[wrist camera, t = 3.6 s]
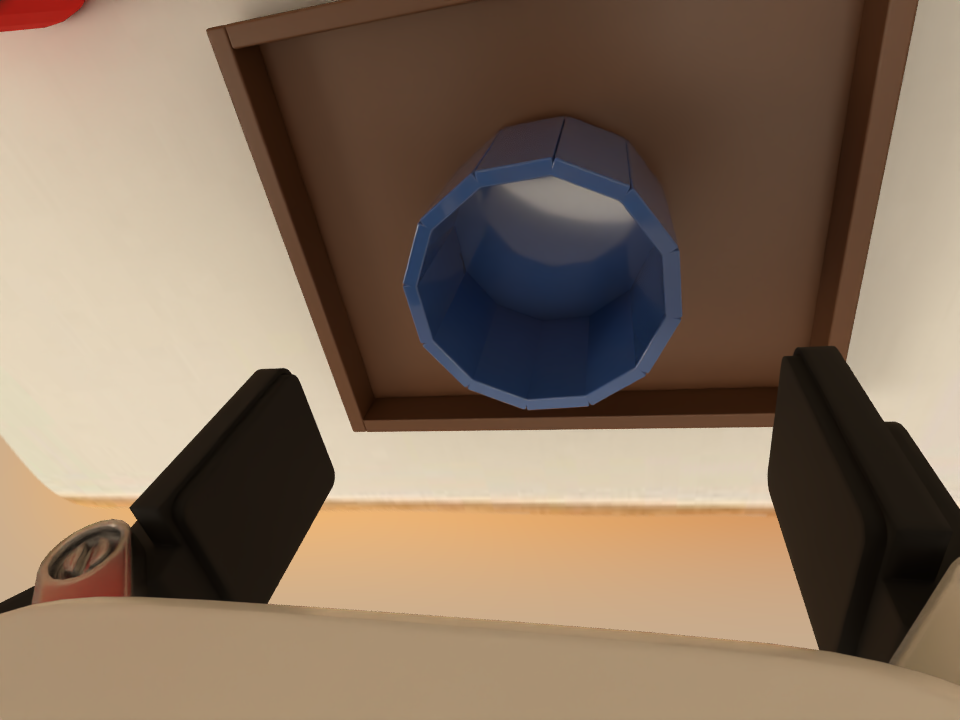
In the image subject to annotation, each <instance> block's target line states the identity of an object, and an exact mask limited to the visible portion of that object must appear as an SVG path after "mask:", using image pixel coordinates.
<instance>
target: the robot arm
mask: <svg viewBox="0 0 960 720" xmlns="http://www.w3.org/2000/svg"><path fill="white" fill-rule="evenodd" d="M334 480H335V472H334V468H333V466H332V463H331V460H330V458H329V455H328V453H327V450H326V448H325V445H324V443H323V440H322V437H321V435H320V432H319V430H318V427H317V425H316V422H315V419H314V417H313V414H312V412H311V409H310V407H309V404H308V402H307V399H306V396H305V394H304V391H303V389H302V386H301V384H300V381H299V379H298V378H297V377H296V376H295V375H292V374H291V372H290V371H289V370H288V369H285V368H278V369H260V370H257V371H256V372H255V373H254V374H253V375H252V376H251V377H250V378H249V379H248V380H247V381H246V383H245V384H244V385H243V386H242V387H241V388H240V389H239V390H238V391H237V392H236V393H235V394H234V395H233V397H232V398H231V399H230V400H229V401H228V402H227V403H226V404H225V405H224V406H223V407H222V408H221V409H220V411H219V412H218V413H217V414H216V415H215V416H214V417H213V418H212V419H211V420H210V421H209V422H208V424H207V425H206V426H205V427H204V428H203V429H202V430H201V431H200V432H199V433H198V434H197V435H196V436H195V438H194V439H193V440H192V441H191V442H190V443H189V444H188V445H187V446H186V447H185V448H184V449H183V450H182V452H181V453H180V454H179V455H178V456H177V457H176V458H175V459H174V460H173V461H172V462H171V463H170V464H169V466H168V467H167V468H166V469H165V470H164V471H163V472H162V473H161V474H160V475H159V476H158V477H157V479H156V480H155V481H154V482H153V483H152V484H151V485H150V486H149V487H148V488H147V489H146V490H145V491H144V493H143V494H142V495H141V496H140V497H139V498H138V499H137V500H136V501H135V502H134V503H133V504H132V505H131V507H130V510H131V511H132V513H133V514H134V516H135V517H136V519H137V521H136V522H135V524H134V525H133V526H132V527H131V528H130V526H129V525H128V524H127V523H125V522H124V521H122V520H115V519H111V520H105V521H100V522H97V523H94V524H91V525H88V526H86V527H84V528H82V529H80V530H78V531H76V532H74V533H73V534H71V535H70V536H68V537H67V538H66V539H64V540H63V541H61V542H60V543H59V544H58V545H57V546H56V547H55V548H53V549H52V551H50V552H49V554H48V555H47V556H46V557H45V559H44V560H43V561H42V563H41V565H40V567H39V570H38V572H37V577H36V582H35V586H33V587H32V588H29V589H28V590H25V591H23V592H21V593H19V594H17V595H15V596H13V597H11V598H10V599H7V600H5V601H4V602H1V603H0V720H960V509H959V507H958V506H957V504H956V503H955V501H954V500H953V498H952V497H951V495H950V494H949V493H948V491H947V490H946V488H945V487H944V485H943V484H942V482H941V481H940V479H939V478H938V476H937V475H936V473H935V472H934V470H933V469H932V467H931V466H930V464H929V463H928V461H927V460H926V458H925V457H924V455H923V454H922V452H921V451H920V449H919V448H918V446H917V445H916V444H915V442H914V441H913V439H912V438H911V436H910V435H909V433H908V432H907V430H906V429H905V428H904V427H903V426H902V425H901V424H899V423H897V422H884V421H883V419H882V418H881V416H880V415H879V413H878V412H877V410H876V408H875V407H874V405H873V404H872V402H871V401H870V399H869V397H868V396H867V394H866V393H865V391H864V389H863V388H862V386H861V385H860V383H859V382H858V380H857V378H856V377H855V375H854V374H853V372H852V371H851V369H850V367H849V366H848V364H847V363H846V361H845V360H844V358H843V356H842V355H841V353H840V352H839V350H838V349H837V348H836V347H835V346H814V347H797V348H796V349H795V351H794V354H793V356H784V357H783V358H782V362H781V368H780V376H779V384H778V393H777V401H776V409H775V417H774V425H773V433H772V441H771V450H770V458H769V466H768V487H769V492H770V496H771V499H772V502H773V505H774V509H775V512H776V515H777V518H778V521H779V524H780V528H781V531H782V534H783V537H784V540H785V543H786V546H787V549H788V552H789V556H790V559H791V562H792V565H793V568H794V571H795V574H796V578H797V581H798V584H799V587H800V590H801V594H802V597H803V600H804V603H805V606H806V609H807V612H808V615H809V619H810V622H811V625H812V628H813V631H814V634H815V638H816V641H817V644H818V647H819V650H814V649H807V648H799V647H792V646H784V645H777V644H770V643H759V642H747V641H738V640H727V639H717V638H706V637H695V636H685V635H674V634H663V633H652V632H640V631H627V630H614V629H601V628H587V627H576V626H563V625H550V624H537V623H525V622H512V621H499V620H486V619H471V618H459V617H444V616H432V615H418V614H404V613H390V612H376V611H362V610H348V609H334V608H320V607H305V606H290V605H274V604H268V602H269V600H270V598H271V596H272V594H273V593H274V591H275V589H276V587H277V586H278V584H279V582H280V580H281V578H282V576H283V575H284V573H285V571H286V569H287V568H288V566H289V564H290V562H291V560H292V559H293V557H294V555H295V553H296V551H297V550H298V548H299V546H300V544H301V543H302V541H303V539H304V537H305V535H306V534H307V532H308V530H309V528H310V526H311V524H312V523H313V521H314V519H315V517H316V516H317V514H318V512H319V510H320V508H321V507H322V505H323V503H324V501H325V499H326V498H327V496H328V494H329V492H330V491H331V489H332V487H333V484H334Z"/></svg>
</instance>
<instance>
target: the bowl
mask: <svg viewBox="0 0 960 720" xmlns="http://www.w3.org/2000/svg"><path fill="white" fill-rule="evenodd" d="M403 284H404V285H403V289H404V292H405V296H406V299H407V302H408V305H409V308H410V311H411V314H412V318H413V321H414V324H415V327H416V330H417V333H418V336H419V339H420V342H421V343H423V347H424V348H425V349H426V350H427V351H428V352H429V353H430V354H431V355H432V356H433V357H434V358H435V359H436V360H437V361H438V362H439V363H440V364H441V365H442V366H443V367H444V368H446V369H447V370H448V371H449V372H450V373H451V374H452V375H453V376H454V377H455V378H456V379H457V380H458V381H459V382H460V383H461V384H462V385H463V386H464V387H467V386H468V389H469V390H471V391H474V392H477V393H480V394H482V395H485V396H488V397H491V398H493V399H496V400H499V401H502V402H504V403H507V404H510V405H513V406H516V407H518V408H521V409H526V407H527V410H539V409H555V408H571V407H587V406H589V405H590V404H591V405H594V404H596V403H598V402H599V401H601V400H603V399H605V398H607V397H608V396H610V395H612V394H614V393H616V392H617V391H619V390H621V389H623V388H625V387H627V386H628V385H630V384H632V383H634V382H636V381H637V380H639V379H641V378H643V377H645V376H646V373H649V372H650V370H651V369H652V367H653V366H654V364H655V362H656V361H657V359H658V357H659V356H660V354H661V353H662V351H663V349H664V348H665V346H666V344H667V343H668V341H669V340H670V338H671V336H672V335H673V333H674V331H675V330H676V328H677V327H678V325H679V323H680V322H681V317H682V315H683V314H682V290H681V267H680V250H679V246H678V242H677V239H676V235H675V231H674V227H673V223H672V220H671V216H670V212H669V208H668V204H667V201H666V197H665V193H664V190H663V187H662V185H661V184H660V182H659V181H658V180H657V178H656V177H655V176H654V174H653V173H652V172H651V170H650V169H649V168H648V166H647V165H646V164H645V162H644V161H643V160H642V158H641V157H640V155H639V154H638V153H637V151H636V150H635V149H634V147H633V146H632V145H631V143H630V142H629V141H628V140H626V141H625V138H624V137H622V136H620V135H617V134H614V133H612V132H609V131H606V130H604V129H601V128H598V127H596V126H593V125H590V124H588V123H585V122H582V121H580V120H577V119H574V118H572V117H569V116H567V117H566V118H565V117H564V116H559V117H554V118H549V119H544V120H539V121H534V122H529V123H524V124H519V125H514V126H509V127H504V128H503V130H499V131H498V132H497V133H496V134H495V135H494V136H493V137H492V138H490V139H489V140H488V141H487V142H486V143H485V144H484V145H483V146H482V147H481V148H480V149H479V150H478V151H476V152H475V153H474V154H473V155H472V156H471V157H470V158H469V159H468V160H467V161H466V162H465V163H463V164H462V165H461V166H460V167H459V168H458V170H457V171H456V172H455V174H454V175H453V176H452V178H451V179H450V180H449V182H448V183H447V184H446V185H445V187H444V188H443V189H442V191H441V192H440V193H439V195H438V196H437V197H436V199H435V200H434V201H433V203H432V204H431V205H430V207H429V208H428V209H427V211H426V212H425V213H424V214H423V216H422V217H421V218H420V221H419V222H418V224H417V227H416V231H415V235H414V239H413V243H412V247H411V251H410V255H409V259H408V263H407V267H406V270H405V274H404V278H403Z"/></svg>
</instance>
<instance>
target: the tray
mask: <svg viewBox="0 0 960 720" xmlns="http://www.w3.org/2000/svg"><path fill="white" fill-rule="evenodd" d="M918 1H919V0H339V1H335V2H330V3H325V4H320V5H316V6H311V7H306V8H301V9H297V10H292V11H287V12H283V13H278V14H273V15H268V16H264V17H259V18H254V19H250V20H245V21H240V22H235V23H231V24H227V25H221V26H217V27H212V28H208V29H207V30H206V31H207V35H208V37H209V40H210V43H211V45H212V48H213V51H214V54H215V56H216V59H217V62H218V64H219V67H220V70H221V73H222V75H223V78H224V81H225V84H226V86H227V89H228V92H229V94H230V97H231V100H232V103H233V105H234V108H235V111H236V113H237V116H238V119H239V122H240V124H241V127H242V130H243V132H244V135H245V138H246V141H247V143H248V146H249V149H250V152H251V154H252V157H253V160H254V162H255V165H256V168H257V171H258V173H259V176H260V179H261V181H262V184H263V187H264V190H265V192H266V195H267V198H268V200H269V203H270V206H271V209H272V211H273V214H274V217H275V220H276V222H277V225H278V228H279V230H280V233H281V236H282V239H283V241H284V244H285V247H286V249H287V252H288V255H289V258H290V260H291V263H292V266H293V268H294V271H295V274H296V277H297V279H298V282H299V285H300V288H301V290H302V293H303V296H304V298H305V301H306V304H307V307H308V309H309V312H310V315H311V317H312V320H313V323H314V326H315V328H316V331H317V334H318V337H319V339H320V342H321V345H322V347H323V350H324V353H325V356H326V358H327V361H328V364H329V366H330V369H331V372H332V375H333V377H334V380H335V383H336V385H337V388H338V391H339V394H340V396H341V399H342V402H343V405H344V407H345V410H346V413H347V415H348V418H349V421H350V424H351V426H352V429H353V431H354V432H365V431H367V432H393V431H475V430H557V429H639V428H721V427H773V425H774V417H775V409H776V401H777V393H778V384H779V376H780V368H781V362H782V358H783V357H784V356H793V354H794V351H795V349H796V348H797V347H814V346H835V347H836V348H837V349H838V350H839V352H840V353H841V355H842V356H843V358H844V360H845V361H846V358H847V353H848V348H849V343H850V339H851V334H852V329H853V324H854V319H855V314H856V309H857V304H858V299H859V294H860V289H861V284H862V279H863V274H864V269H865V264H866V259H867V254H868V249H869V244H870V239H871V234H872V229H873V224H874V219H875V214H876V209H877V204H878V200H879V195H880V190H881V185H882V180H883V175H884V170H885V165H886V160H887V155H888V150H889V145H890V140H891V135H892V130H893V125H894V120H895V115H896V110H897V105H898V100H899V95H900V90H901V85H902V80H903V75H904V70H905V65H906V61H907V56H908V51H909V46H910V41H911V36H912V31H913V26H914V21H915V16H916V11H917V6H918ZM559 116H564V117H565V118H566V117H567V116H569V117H572V118H574V119H577V120H580V121H582V122H585V123H588V124H590V125H593V126H596V127H598V128H601V129H604V130H606V131H609V132H612V133H614V134H617V135H620V136H622V137H624V138H625V141H626V140H628V141H629V142H630V143H631V145H632V146H633V147H634V149H635V150H636V151H637V153H638V154H639V155H640V157H641V158H642V160H643V161H644V162H645V164H646V165H647V166H648V168H649V169H650V170H651V172H652V173H653V174H654V176H655V177H656V178H657V180H658V181H659V182H660V184H661V185H662V187H663V190H664V193H665V197H666V201H667V204H668V208H669V212H670V216H671V220H672V223H673V227H674V231H675V235H676V239H677V242H678V246H679V250H680V267H681V290H682V314H683V315H682V317H681V322H680V323H679V325H678V327H677V328H676V330H675V331H674V333H673V335H672V336H671V338H670V340H669V341H668V343H667V344H666V346H665V348H664V349H663V351H662V353H661V354H660V356H659V357H658V359H657V361H656V362H655V364H654V366H653V367H652V369H651V370H650V372H649V373H646V376H645V377H643V378H641V379H639V380H637V381H636V382H634V383H632V384H630V385H628V386H627V387H625V388H623V389H621V390H619V391H617V392H616V393H614V394H612V395H610V396H608V397H607V398H605V399H603V400H601V401H599V402H598V403H596V404H594V405H591V404H590V405H589V406H587V407H571V408H555V409H539V410H527V407H526V409H521V408H518V407H516V406H513V405H510V404H507V403H504V402H502V401H499V400H496V399H493V398H491V397H488V396H485V395H482V394H480V393H477V392H474V391H471V390H469V389H468V386H467V387H464V386H463V385H462V384H461V383H460V382H459V381H458V380H457V379H456V378H455V377H454V376H453V375H452V374H451V373H450V372H449V371H448V370H447V369H446V368H444V367H443V366H442V365H441V364H440V363H439V362H438V361H437V360H436V359H435V358H434V357H433V356H432V355H431V354H430V353H429V352H428V351H427V350H426V349H425V348H424V347H423V343H421V342H420V339H419V336H418V333H417V330H416V327H415V324H414V321H413V318H412V314H411V311H410V308H409V305H408V302H407V299H406V296H405V292H404V289H403V285H404V284H403V278H404V274H405V270H406V267H407V263H408V259H409V255H410V251H411V247H412V243H413V239H414V235H415V231H416V227H417V224H418V222H419V221H420V218H421V217H422V216H423V214H424V213H425V212H426V211H427V209H428V208H429V207H430V205H431V204H432V203H433V201H434V200H435V199H436V197H437V196H438V195H439V193H440V192H441V191H442V189H443V188H444V187H445V185H446V184H447V183H448V182H449V180H450V179H451V178H452V176H453V175H454V174H455V172H456V171H457V170H458V168H459V167H460V166H461V165H462V164H463V163H465V162H466V161H467V160H468V159H469V158H470V157H471V156H472V155H473V154H474V153H475V152H476V151H478V150H479V149H480V148H481V147H482V146H483V145H484V144H485V143H486V142H487V141H488V140H489V139H490V138H492V137H493V136H494V135H495V134H496V133H497V132H498V131H499V130H503V128H504V127H509V126H514V125H519V124H524V123H529V122H534V121H539V120H544V119H549V118H554V117H559Z"/></svg>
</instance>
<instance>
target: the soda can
mask: <svg viewBox="0 0 960 720" xmlns="http://www.w3.org/2000/svg"><path fill="white" fill-rule="evenodd" d="M84 2H85V0H0V32H4V31H14V30H24V29H35V28H45V27H48V26H51V25H54V24H57V23H60V22H63V21H65V20H66V19H67V18H69V17H70V16H71V15H73V14H74V13H75V12H76V11H78V10H79V9H80V7H81V6H82V5H83V3H84Z"/></svg>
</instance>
